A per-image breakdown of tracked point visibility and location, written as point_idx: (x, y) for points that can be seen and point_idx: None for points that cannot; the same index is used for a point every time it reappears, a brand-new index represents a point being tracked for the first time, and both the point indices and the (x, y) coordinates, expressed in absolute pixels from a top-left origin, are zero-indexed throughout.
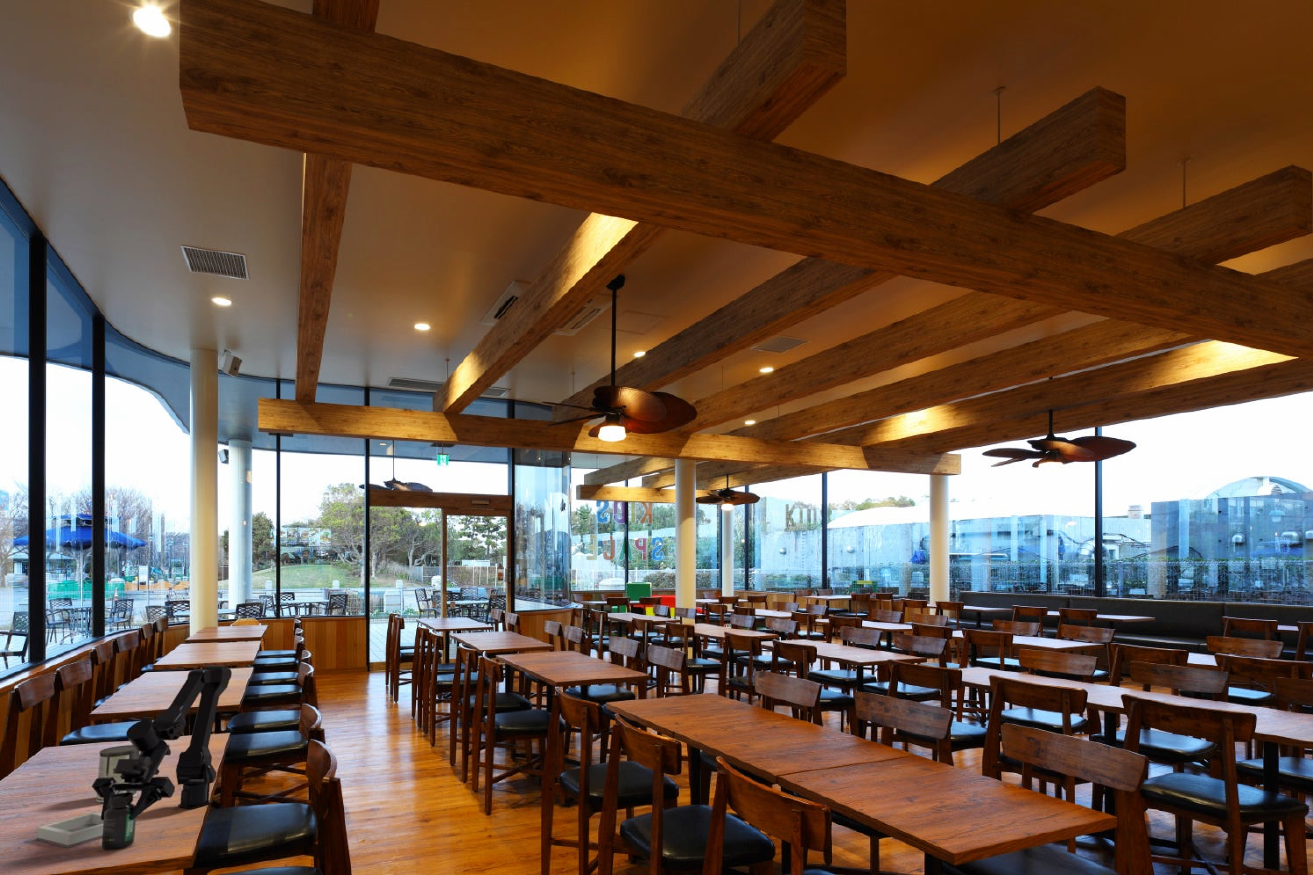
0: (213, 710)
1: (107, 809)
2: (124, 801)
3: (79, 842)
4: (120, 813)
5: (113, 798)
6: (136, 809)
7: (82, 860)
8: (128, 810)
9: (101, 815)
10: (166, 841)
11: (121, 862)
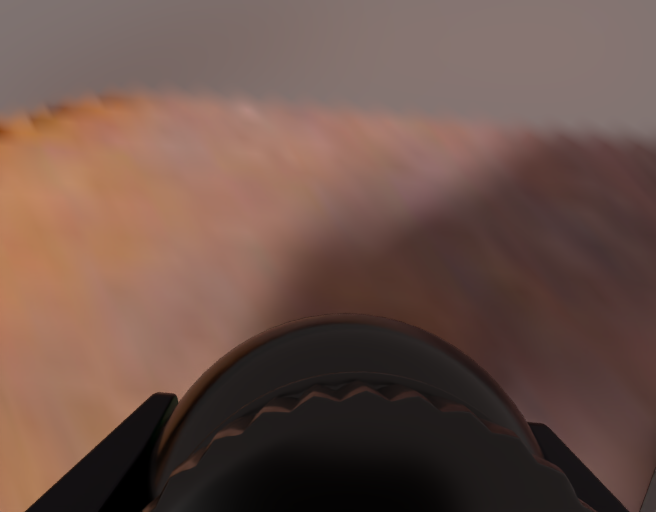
0: None
1: (499, 420)
2: (202, 445)
3: (654, 499)
4: (252, 343)
5: (447, 407)
6: (69, 477)
7: (398, 174)
8: (172, 427)
9: (561, 445)
10: (13, 504)
11: (143, 122)
